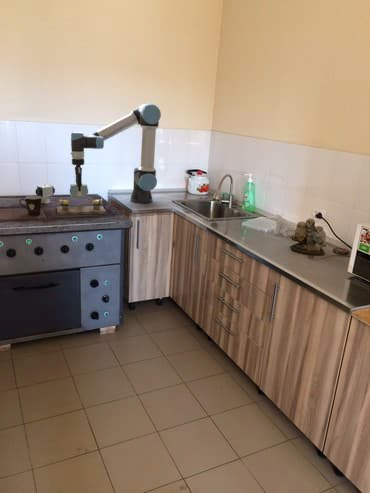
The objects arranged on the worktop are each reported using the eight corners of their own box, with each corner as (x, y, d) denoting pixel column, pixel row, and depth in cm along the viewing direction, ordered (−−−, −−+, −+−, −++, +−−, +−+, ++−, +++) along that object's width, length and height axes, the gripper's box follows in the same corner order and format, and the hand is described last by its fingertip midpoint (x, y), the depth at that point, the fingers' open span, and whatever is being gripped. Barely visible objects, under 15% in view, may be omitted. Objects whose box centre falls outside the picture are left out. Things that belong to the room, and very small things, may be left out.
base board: (102, 208, 267) (102, 206, 267) (105, 213, 256) (105, 211, 255) (56, 209, 258) (56, 206, 257) (57, 214, 246) (57, 212, 246)
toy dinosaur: (263, 228, 244) (268, 210, 240) (305, 240, 236) (310, 221, 232) (260, 231, 238) (265, 212, 235) (302, 243, 230) (308, 224, 226)
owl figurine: (288, 252, 209) (293, 219, 204) (287, 246, 220) (292, 214, 215) (326, 257, 206) (332, 223, 200) (323, 250, 217) (329, 218, 212)
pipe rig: (101, 207, 262) (101, 198, 260) (102, 209, 258) (102, 199, 256) (59, 208, 254) (59, 198, 252) (60, 210, 250) (59, 200, 248)
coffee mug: (45, 214, 246) (44, 197, 242) (34, 217, 238) (33, 199, 235) (30, 210, 250) (29, 194, 247) (18, 213, 242) (17, 196, 239)
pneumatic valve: (55, 202, 274) (55, 184, 270) (40, 205, 265) (39, 186, 261) (50, 200, 277) (49, 182, 273) (34, 203, 267) (34, 184, 264)
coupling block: (87, 196, 272) (87, 183, 270) (88, 197, 268) (88, 185, 265) (69, 196, 269) (69, 184, 266) (70, 198, 264) (70, 185, 262)
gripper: (70, 156, 267) (71, 192, 275) (73, 160, 251) (74, 198, 259) (82, 156, 270) (83, 192, 277) (85, 160, 254) (86, 198, 261)
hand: (79, 195), depth 268 cm, fingers closed on coupling block, 5 cm apart
